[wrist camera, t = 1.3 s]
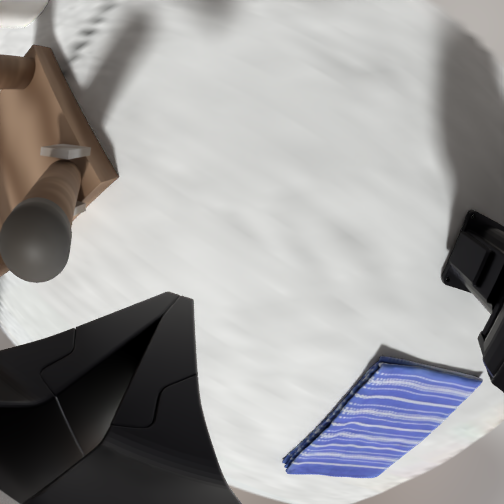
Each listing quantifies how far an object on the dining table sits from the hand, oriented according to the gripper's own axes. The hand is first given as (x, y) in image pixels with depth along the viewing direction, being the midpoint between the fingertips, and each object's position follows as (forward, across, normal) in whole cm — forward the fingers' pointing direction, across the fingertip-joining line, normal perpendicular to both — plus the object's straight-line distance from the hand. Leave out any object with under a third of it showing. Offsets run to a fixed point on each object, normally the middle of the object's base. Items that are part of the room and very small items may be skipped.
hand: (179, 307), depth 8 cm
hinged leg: (+9, +13, 0) cm, 16 cm away
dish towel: (+14, -22, +22) cm, 34 cm away
